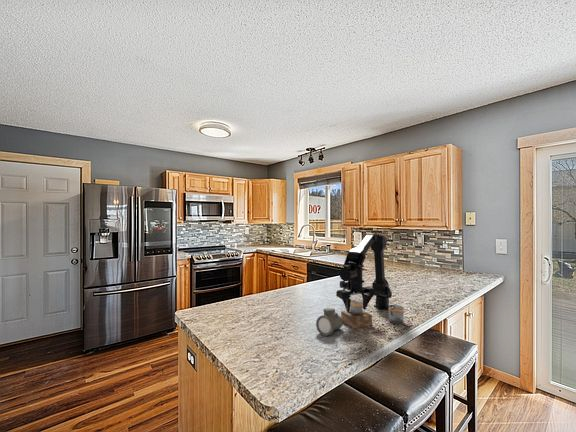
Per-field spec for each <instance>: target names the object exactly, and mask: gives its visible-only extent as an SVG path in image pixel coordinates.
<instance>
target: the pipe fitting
mask: <svg viewBox="0 0 576 432" xmlns="http://www.w3.org/2000/svg"><path fill="white" fill-rule="evenodd" d="M322 309H323V310H322V312H323V315H320V316H318V317H317V319H316V320H315V321H316V322H315V327H316V330H317V332H318V333H319V334H320V335H322V336H324V337H327V336H330V335H331V334H333V333H334V331H336V330H338V329H341V328H342V327H343V323H344V322H343V320H342V318H341V315H339V314H338V312H337V311H336V308H333V307H324V308H322Z"/></svg>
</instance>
